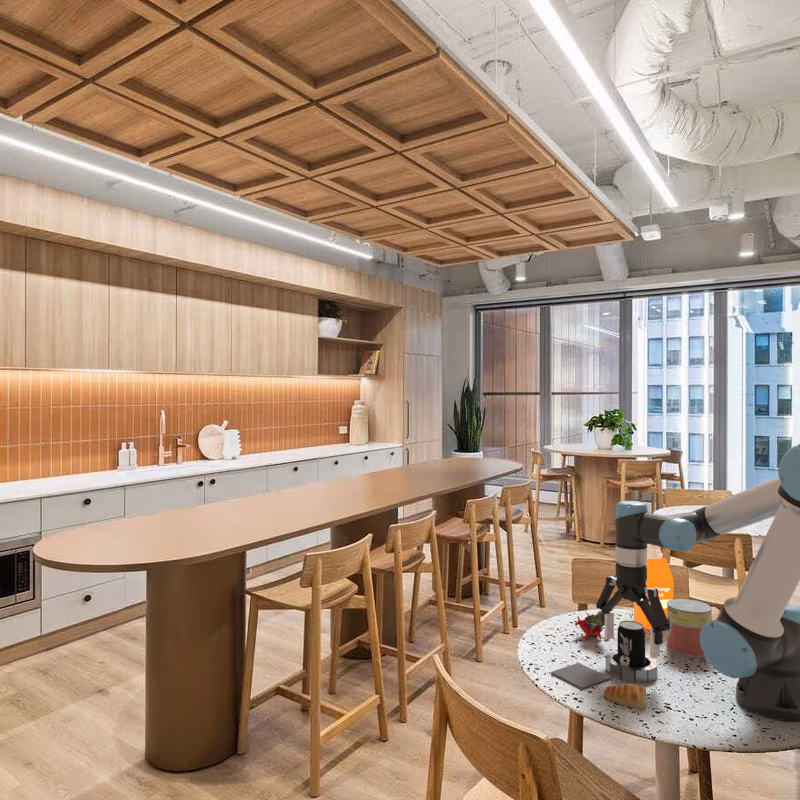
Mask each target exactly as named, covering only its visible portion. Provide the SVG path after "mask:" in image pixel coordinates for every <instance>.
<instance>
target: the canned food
mask: <svg viewBox="0 0 800 800" xmlns="http://www.w3.org/2000/svg"><path fill="white" fill-rule="evenodd" d="M712 610H713V607H712V606H711V605H709V604H708V603H706V602H703V601H701V600H697V599H689V598H673V599H671V600H669V601H667V620H668V622H669V625H670V629H669V630H666V634H667V636H666V637H667V638H666V639H667V642H666V643H667V644H666V647H667V648H668V649H669V650H670V651H671V652H673V653H676V654H679V655H683V656H685V657H692V658H693V657H695V658H703V657H705V655H704V652H703V650H702V649H701V645H700V632H701V630H702V628H703V627H704V626H705V625H706V624H707V623H709V622H710V621H713V620H712V619H713V618H712ZM705 658H706V657H705Z"/></svg>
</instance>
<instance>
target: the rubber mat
mask: <svg viewBox="0 0 800 800" xmlns="http://www.w3.org/2000/svg"><path fill="white" fill-rule="evenodd" d="M550 674H551V675H552V676H554V677H556V678H558V679H560V680H562V681H564V682H566V683H568V684H570V685H572V686H574V687H576V688H578V689H580V690H582V691H583V690H585V689H588V688H590V687H593V686H596V685H597V686H598V685H600V684H602V683H604V682H607V681H610V680H611V677H610V676H608V675H606V674H603V673H602V672H599V671H597V670H595V669H593V668H591V667H589V666H587V665H584V664H582V663H580V662H577V663H574V664H571V665H568V666H565V667H561V668H559V669H556V670H552V671H551V673H550Z"/></svg>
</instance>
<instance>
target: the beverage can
mask: <svg viewBox="0 0 800 800" xmlns="http://www.w3.org/2000/svg"><path fill="white" fill-rule="evenodd" d="M618 624H619V626H618V627H617V650H618V664H621V665H623V666H627V667H632V668H644V667H645V654H646V631H645V628H644V627H643V625H642V624H641V623H639V622H636V621H634V620H621V621H619V623H618Z"/></svg>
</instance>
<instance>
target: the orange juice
mask: <svg viewBox="0 0 800 800" xmlns="http://www.w3.org/2000/svg"><path fill="white" fill-rule="evenodd" d="M668 563H669V562H668V559H667V558H665V557H664V558H647V563H646V564H645V565H646V566H647V580H646V586H647V588H657V589H658V594H659V599H660V602H661V604H662V607H663V609H664V612H665V615H666V617H667V601H669V600H671V599H674V578H673V574H672V572H671V569H670V565H669V564H668ZM646 596H647V593H646ZM647 598H648V597H647ZM642 600H643V599H641V601H642ZM649 604H650V602H649ZM634 620H635V622H636V621H637V622H639V623H641V624H642V625H643V626H644V627H645V628H644V627H643V628H644V629H646V630H653V629H652V627H651V625H650V623H649V622H648V620H647V618H646V616H645V615H644V613H643V611H642V610H641V608H640V606H638V605H637V604H636V602H633V621H634Z"/></svg>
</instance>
